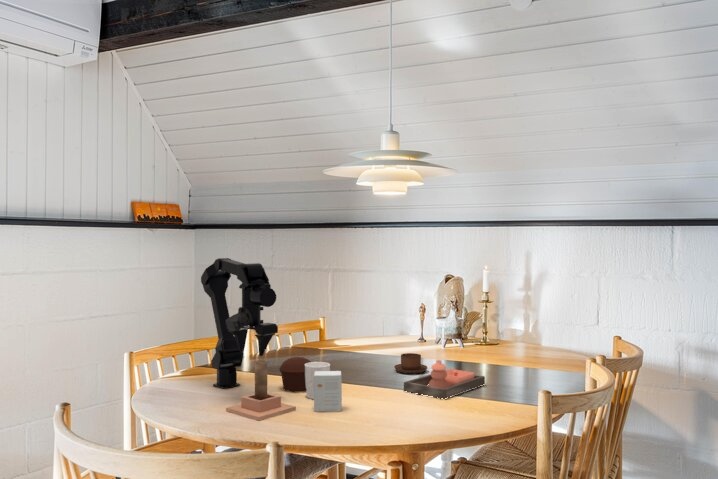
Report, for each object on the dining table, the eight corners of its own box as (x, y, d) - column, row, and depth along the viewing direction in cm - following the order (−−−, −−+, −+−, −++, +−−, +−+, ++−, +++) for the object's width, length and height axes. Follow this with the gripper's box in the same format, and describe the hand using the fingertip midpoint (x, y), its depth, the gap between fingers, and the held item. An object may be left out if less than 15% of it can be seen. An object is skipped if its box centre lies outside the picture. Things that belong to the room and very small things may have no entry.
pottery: (451, 380, 228) (451, 352, 228) (475, 385, 222) (475, 356, 222) (420, 390, 214) (420, 360, 214) (445, 395, 208) (445, 364, 208)
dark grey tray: (403, 391, 212) (403, 382, 212) (445, 378, 231) (445, 369, 231) (444, 399, 202) (444, 390, 202) (484, 385, 221) (484, 376, 221)
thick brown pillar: (252, 408, 188) (252, 362, 188) (257, 404, 192) (257, 360, 192) (264, 409, 187) (264, 363, 187) (269, 405, 191) (269, 360, 191)
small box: (341, 406, 195) (341, 370, 195) (341, 411, 189) (341, 374, 189) (314, 406, 195) (314, 370, 194) (313, 411, 189) (313, 374, 189)
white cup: (316, 392, 211) (316, 360, 211) (335, 396, 206) (335, 364, 206) (299, 396, 205) (299, 364, 205) (317, 401, 200) (317, 368, 200)
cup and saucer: (388, 370, 245) (388, 353, 245) (416, 367, 250) (417, 351, 250) (404, 376, 234) (404, 359, 234) (433, 373, 239) (433, 356, 239)
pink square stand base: (226, 411, 189) (226, 397, 189) (263, 401, 200) (263, 388, 199) (258, 420, 180) (258, 406, 180) (295, 410, 190) (295, 396, 190)
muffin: (281, 393, 209) (281, 362, 209) (276, 385, 220) (276, 355, 219) (318, 391, 212) (318, 360, 212) (311, 383, 223) (311, 353, 223)
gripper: (211, 303, 206) (211, 354, 206) (250, 308, 194) (250, 362, 194) (239, 300, 214) (239, 349, 214) (279, 305, 202) (279, 356, 202)
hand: (251, 354), depth 206 cm, fingers open, 9 cm apart
